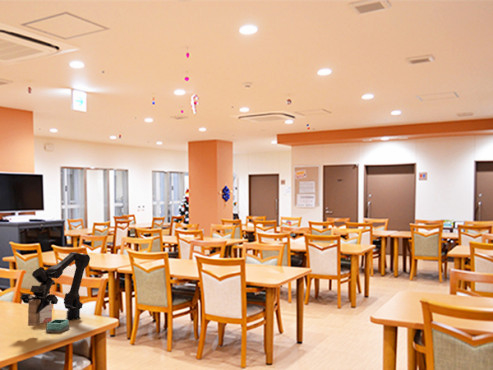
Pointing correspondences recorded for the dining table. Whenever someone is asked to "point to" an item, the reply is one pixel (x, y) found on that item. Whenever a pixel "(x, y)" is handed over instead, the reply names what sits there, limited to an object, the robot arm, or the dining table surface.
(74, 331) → the dining table surface
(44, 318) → the ink cartridge box
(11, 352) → the dining table surface
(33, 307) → the rail post
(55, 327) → the teal square tray
